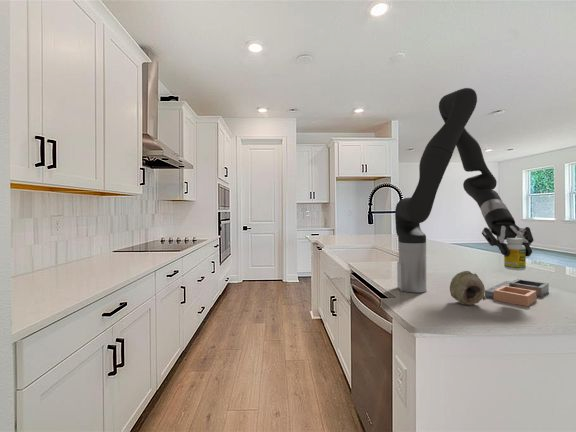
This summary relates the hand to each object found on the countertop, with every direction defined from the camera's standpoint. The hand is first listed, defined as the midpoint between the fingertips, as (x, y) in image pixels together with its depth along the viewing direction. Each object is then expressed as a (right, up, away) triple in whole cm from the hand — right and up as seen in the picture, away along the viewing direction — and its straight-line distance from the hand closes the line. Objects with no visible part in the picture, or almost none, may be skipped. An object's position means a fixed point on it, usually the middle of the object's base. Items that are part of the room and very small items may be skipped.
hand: (518, 254), depth 90 cm
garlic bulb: (-16, -15, -1) cm, 22 cm away
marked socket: (0, -14, +2) cm, 15 cm away
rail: (+6, -14, +8) cm, 17 cm away
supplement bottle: (0, -5, +2) cm, 5 cm away
